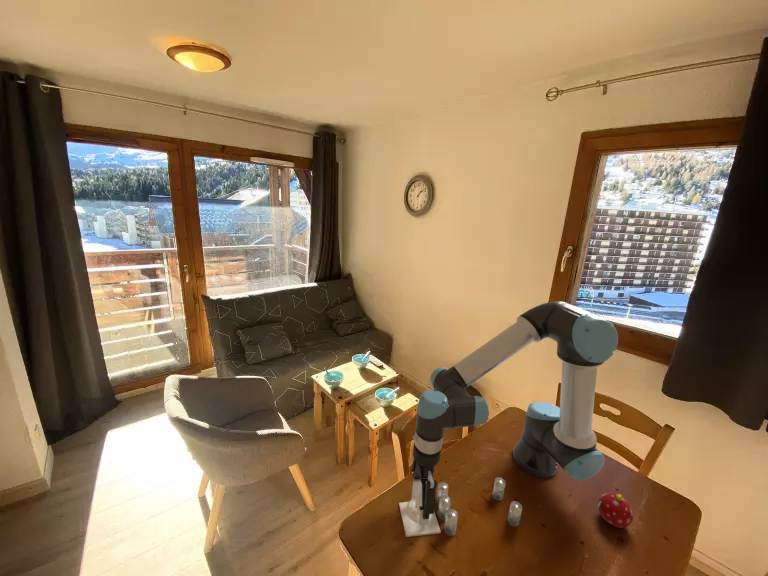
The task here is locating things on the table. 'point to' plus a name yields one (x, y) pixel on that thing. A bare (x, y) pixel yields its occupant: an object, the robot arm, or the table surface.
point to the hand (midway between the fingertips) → (419, 510)
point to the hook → (418, 503)
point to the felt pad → (413, 527)
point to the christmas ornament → (615, 510)
